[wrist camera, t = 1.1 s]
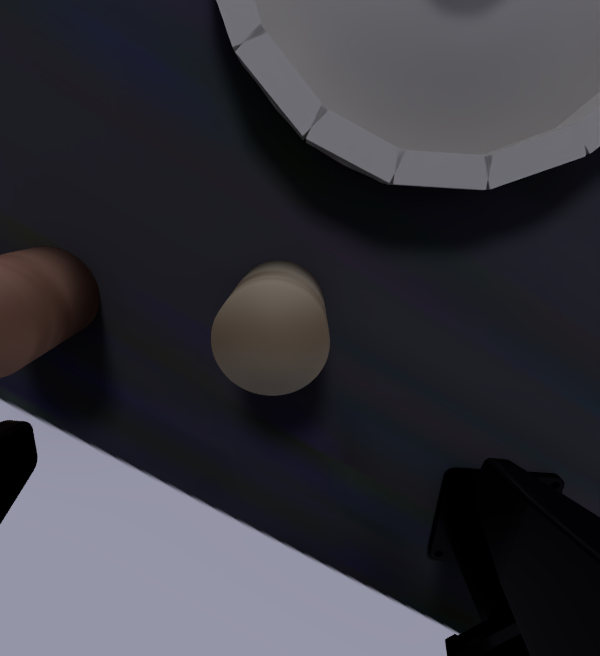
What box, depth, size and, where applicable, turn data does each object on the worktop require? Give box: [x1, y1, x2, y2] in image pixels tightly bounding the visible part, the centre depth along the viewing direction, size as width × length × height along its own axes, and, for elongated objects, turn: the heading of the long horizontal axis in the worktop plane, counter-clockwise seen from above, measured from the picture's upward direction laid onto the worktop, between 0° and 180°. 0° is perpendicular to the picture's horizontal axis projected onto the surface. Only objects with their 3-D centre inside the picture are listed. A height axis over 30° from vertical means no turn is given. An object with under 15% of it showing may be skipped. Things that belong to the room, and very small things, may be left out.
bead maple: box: [211, 260, 330, 396], centre depth 17 cm, size 4×4×5 cm
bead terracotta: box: [0, 246, 100, 378], centre depth 17 cm, size 4×4×5 cm
